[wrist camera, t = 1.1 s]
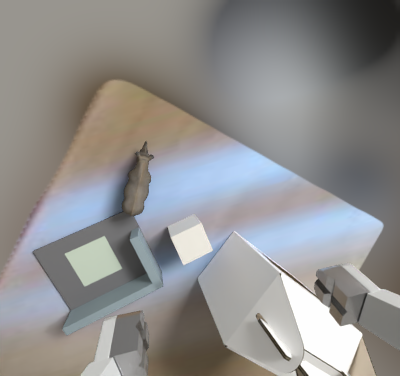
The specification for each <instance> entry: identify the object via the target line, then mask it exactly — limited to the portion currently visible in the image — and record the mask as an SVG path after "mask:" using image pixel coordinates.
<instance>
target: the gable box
mask: <svg viewBox="0 0 400 376" xmlns="http://www.w3.org/2000/svg"><path fill="white" fill-rule="evenodd" d="M198 282H199V284H200V287H201V289H202V292H203V294H204V297H205V299H206V302H207V304H208V307H209V309H210V312H211V314H212V317H213V319H214V321H215V324H216V326H217V329H218V331H219V334H220V336H221V339H222V341H223V344H224V346H225V347H226V348H228V349H230V350H231V351H233V352H235V353H237V354H239V355H241V356H243V357H244V358H246V359H248V360H250V361H252V362H254V363H256V364H257V365H259V366H261V367H263V368H265V369H267V370H269V371H270V372H272V373H274V374H276V375H278V376H350V375H351V376H377V375H376V372H375V370H374V367H373V364H372V361H371V358H370V356H369V353H368V350H367V348H366V345H365V342H364V339H363V336H362V333H361V332H360V331H359V330H357V329H356V328H355V327H354V326H353V325H352V324H349V325H345V326H339V324H338V323H337V322H336V321H335V319H334V318H333V317H332V316H331V314H330V313H329V307H327V306H325V305H324V304H322V303H321V302H320V300H319V299H318V297H317V295H316V294H315V293H313V292H312V291H311V290H310V289H309V288H307V287H306V286H305V285H304V284H303V283H301V282H300V281H299V280H298V279H297V278H295V277H294V276H293V275H292V274H290V273H289V272H288V271H286V270H285V269H284V268H282V267H281V266H280V265H278V264H277V263H276V262H274V261H273V260H272V259H270V258H269V257H268V256H267V255H265V254H264V253H263V252H261V251H260V250H259V249H257V248H256V247H255V246H253V245H252V244H251V243H249V242H248V241H247V240H246V239H244V238H243V237H242V236H240V235H239V234H238V233H236V232H235V231H234V232H233V233H232V234H231V235H230V237H229V238H228V239H227V241H226V242H225V243H224V245H223V246H222V247H221V248H220V250H219V251H218V252H217V254H216V255H215V256H214V257H213V259H212V260H211V261H210V263H209V264H208V265H207V267H206V268H205V269H204V270H203V272H202V273H201V274H200V276H199V277H198ZM348 372H349V374H350V375H349V374H347V373H348Z"/></svg>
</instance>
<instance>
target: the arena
mask: <svg viewBox="0 0 400 376" xmlns="http://www.w3.org/2000/svg"><path fill="white" fill-rule="evenodd" d="M33 253H34V254H35V256H36V257H37V259H38V260H39V262H40V263H41V265H42V267H43V268H44V270H45V271H46V273H47V274H48V276H49V277H50V279H51V280H52V282H53V283H54V285H55V286H56V288H57V290H58V291H59V293H60V294H61V296H62V297H63V299H64V300H65V302H66V303H67V305H68V306H69V308H70V309H71V312H70V314H69V316H68V318H67V320H66V322H65V324H64V326H63V329H62V330H63V331H64V332H65V334H66V335H69V334H71V333H73V332H75V331H77V330H79V329H81V328H83V327H85V326H87V325H89V324H91V323H92V322H94V321H96V320H98V319H100V318H102V317H104V316H106V315H108V314H110V313H112V312H114V311H116V310H118V309H120V308H122V307H124V306H126V305H128V304H130V303H132V302H134V301H136V300H138V299H140V298H142V297H143V296H145V295H147V294H149V293H151V292H153V291H155V290H157V289H159V288H161V287H163V279H162V272H161V270H160V268H159V266H158V264H157V262H156V260H155V258H154V256H153V254H152V252H151V250H150V248H149V246H148V244H147V242H146V240H145V238H144V236H143V234H142V232H141V230H140V228H139V226H138V224H137V222H136V220H135V218H134V216H133V215H132V216H130V215H129V214H126V213H125V212H121V213H119V214H116V215H114V216H112V217H110V218H107V219H105V220H103V221H100V222H98V223H96V224H94V225H91V226H89V227H87V228H85V229H82V230H80V231H78V232H75V233H73V234H71V235H69V236H66V237H64V238H62V239H59V240H57V241H55V242H53V243H50V244H48V245H46V246H43V247H41V248H39V249H37V250H34V251H33Z"/></svg>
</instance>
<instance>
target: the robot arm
mask: <svg viewBox="0 0 400 376" xmlns="http://www.w3.org/2000/svg"><path fill="white" fill-rule="evenodd" d="M316 276H317V278H318V279H317V280H316V282H315V284H314V289H315V293H316V295H317V297H318V299H319V300H320V302H321V303H322V304H324V305H325V306H327V307H329V313H330V314H331V316H332V317H333V318H334V319H335V321H336V322H337V323H338V324H339V326H345V325H349V324H353V323H358V324H360V325H361V326H363V327H364V328H366V329H367V330H369V331H370V332H372V333H373V334H375V335H377V336H378V337H380V338H381V339H383V340H384V341H386V342H387V343H389V344H390V345H392V346H393V347H395V348H396V349H398V350H399V351H400V296H399V295H397V294H394V293H392V292H390V291H387V290H385V289H382V290H381V289H380V288H378V287H377V286H376V285H375V284H374V283H373V282H372V281H370V280H369V279H368V278H367V277H366V276H364V275H363V274H362V273H361V272H360V271H359V270H358V269H357V268H356V267H354V266H353V265H352V264H350V263H344V264H340V265H335V266H331V267H327V268H322V269H318V271H317V272H316ZM148 348H149V332H148V326H147V323H146V322H145V321H144V313H143V311H137V312H132V313H127V314H122V315H117V316H112V317H108V318H105V320H104V321H103V324H102V328H101V333H100V337H99V341H98V345H97V349H96V354H95V358H94V362H91V363H89V364H88V366H87V367H86V368H85V370H84V371H83V372H82V374H81V375H80V376H148V356H147V353H146V351H147V349H148Z"/></svg>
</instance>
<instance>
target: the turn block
mask: <svg viewBox="0 0 400 376" xmlns="http://www.w3.org/2000/svg"><path fill="white" fill-rule="evenodd" d="M168 230H169V233H170V237H171V239H172V241H173V243H174V246H175V248H176V250H177V252H178V254H179V256H180V259H181V261H182V263H183V265H185V264H187V263H189V262H191V261H193V260H195V259H197V258H199V257H201V256H203V255H205V254H207V253H209V252H211V251H213V249H212V247H211V245H210V242H209V240H208V237H207V235H206V233H205V230H204V228H203V226H202V223H201V222H200V220H199V219H198V218H197V217H196V215H195V214H193V215H191V216H189V217H187V218H185V219H183V220H180V221H178V222H176V223H174V224H172V225H170V226H168Z"/></svg>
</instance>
